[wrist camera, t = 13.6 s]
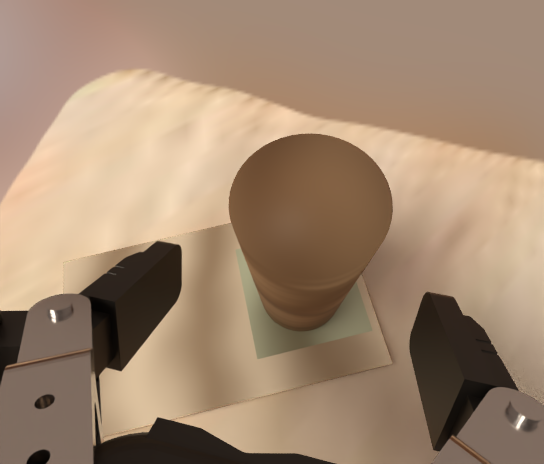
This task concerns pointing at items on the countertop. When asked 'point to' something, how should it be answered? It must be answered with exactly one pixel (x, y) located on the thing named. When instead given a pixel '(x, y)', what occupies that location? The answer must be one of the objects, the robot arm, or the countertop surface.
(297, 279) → the walnut roller
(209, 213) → the countertop surface
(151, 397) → the birch board
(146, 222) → the countertop surface
